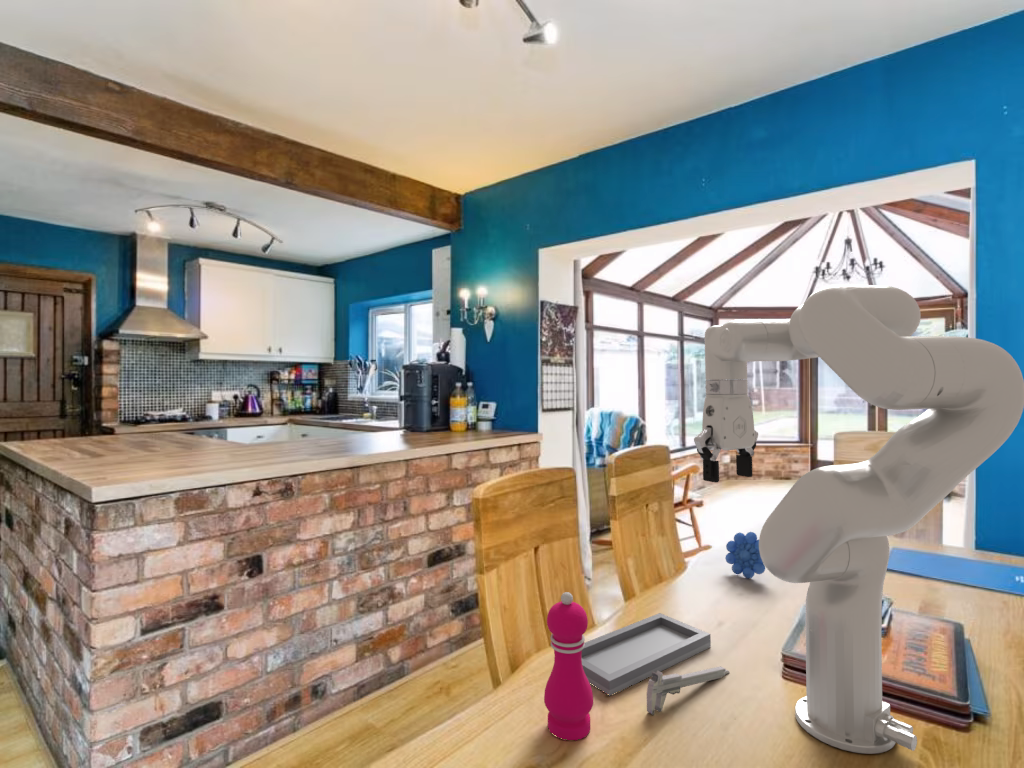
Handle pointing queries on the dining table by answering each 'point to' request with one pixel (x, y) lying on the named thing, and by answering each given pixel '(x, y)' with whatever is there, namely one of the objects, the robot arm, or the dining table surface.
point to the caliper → (676, 685)
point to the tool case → (640, 651)
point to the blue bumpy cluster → (745, 555)
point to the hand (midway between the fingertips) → (728, 478)
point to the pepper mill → (568, 672)
